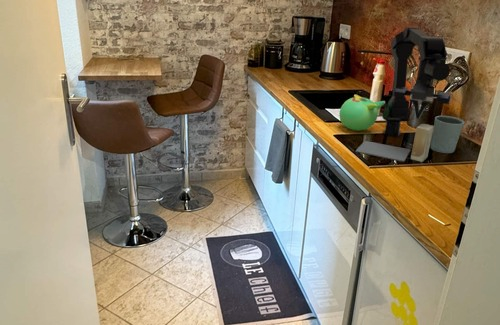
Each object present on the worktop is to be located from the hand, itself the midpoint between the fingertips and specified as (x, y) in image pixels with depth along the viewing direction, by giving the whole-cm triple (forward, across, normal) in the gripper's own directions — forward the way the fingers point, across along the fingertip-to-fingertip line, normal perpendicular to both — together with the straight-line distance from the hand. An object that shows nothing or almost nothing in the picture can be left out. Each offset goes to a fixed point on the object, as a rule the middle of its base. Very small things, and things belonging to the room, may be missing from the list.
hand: (417, 118), depth 148 cm
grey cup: (+13, +10, +10) cm, 19 cm away
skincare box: (+14, +4, -5) cm, 15 cm away
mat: (+13, -9, -5) cm, 17 cm away
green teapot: (+13, -26, +15) cm, 33 cm away
